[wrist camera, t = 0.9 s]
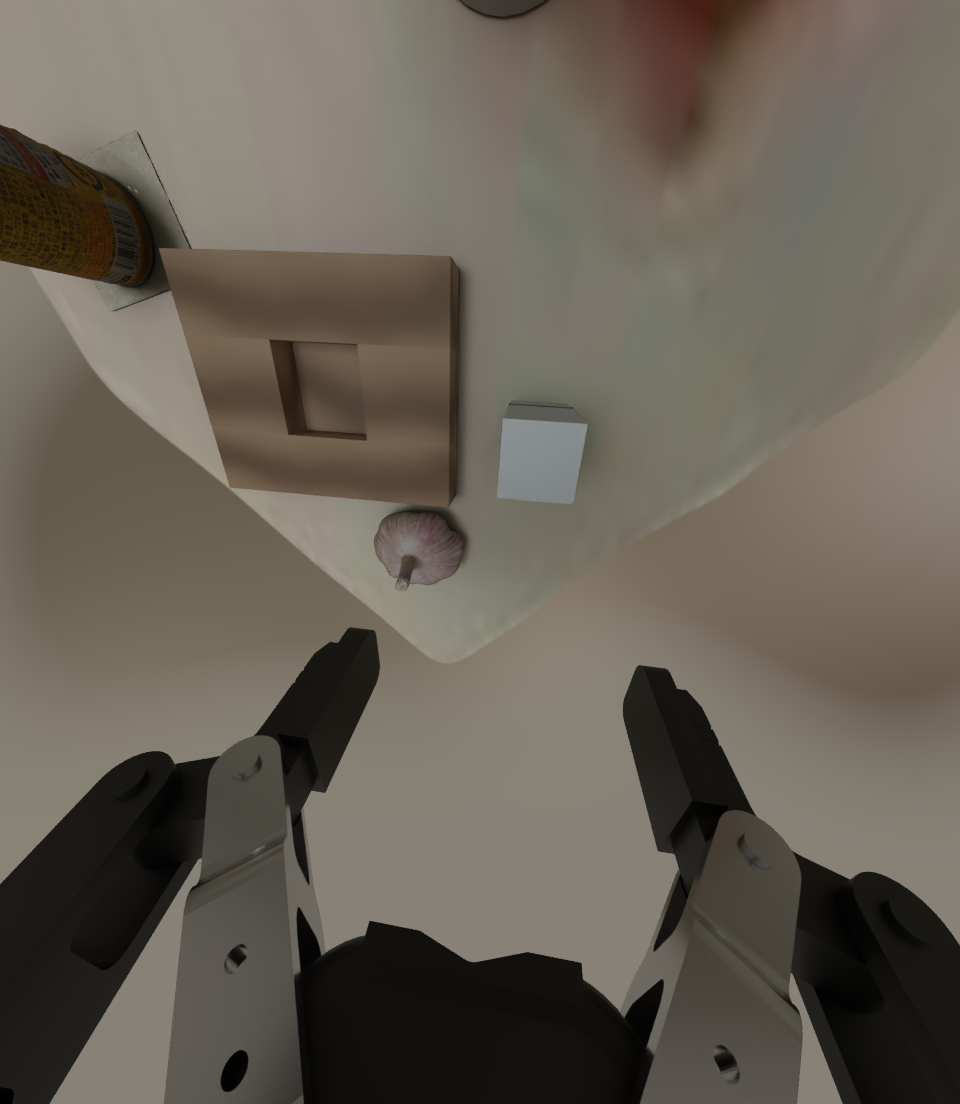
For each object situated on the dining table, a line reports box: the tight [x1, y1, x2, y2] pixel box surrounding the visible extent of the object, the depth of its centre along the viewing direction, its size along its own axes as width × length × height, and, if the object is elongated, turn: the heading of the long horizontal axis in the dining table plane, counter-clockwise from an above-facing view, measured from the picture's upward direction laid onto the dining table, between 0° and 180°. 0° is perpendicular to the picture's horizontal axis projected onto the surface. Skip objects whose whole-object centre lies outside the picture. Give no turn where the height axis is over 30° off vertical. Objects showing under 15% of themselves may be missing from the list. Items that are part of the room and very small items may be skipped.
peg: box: [497, 401, 588, 505], centre depth 22 cm, size 4×4×10 cm
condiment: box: [0, 125, 190, 311], centre depth 18 cm, size 7×8×12 cm
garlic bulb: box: [374, 511, 464, 591], centre depth 28 cm, size 8×7×8 cm
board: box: [159, 248, 460, 507], centre depth 25 cm, size 15×18×3 cm
